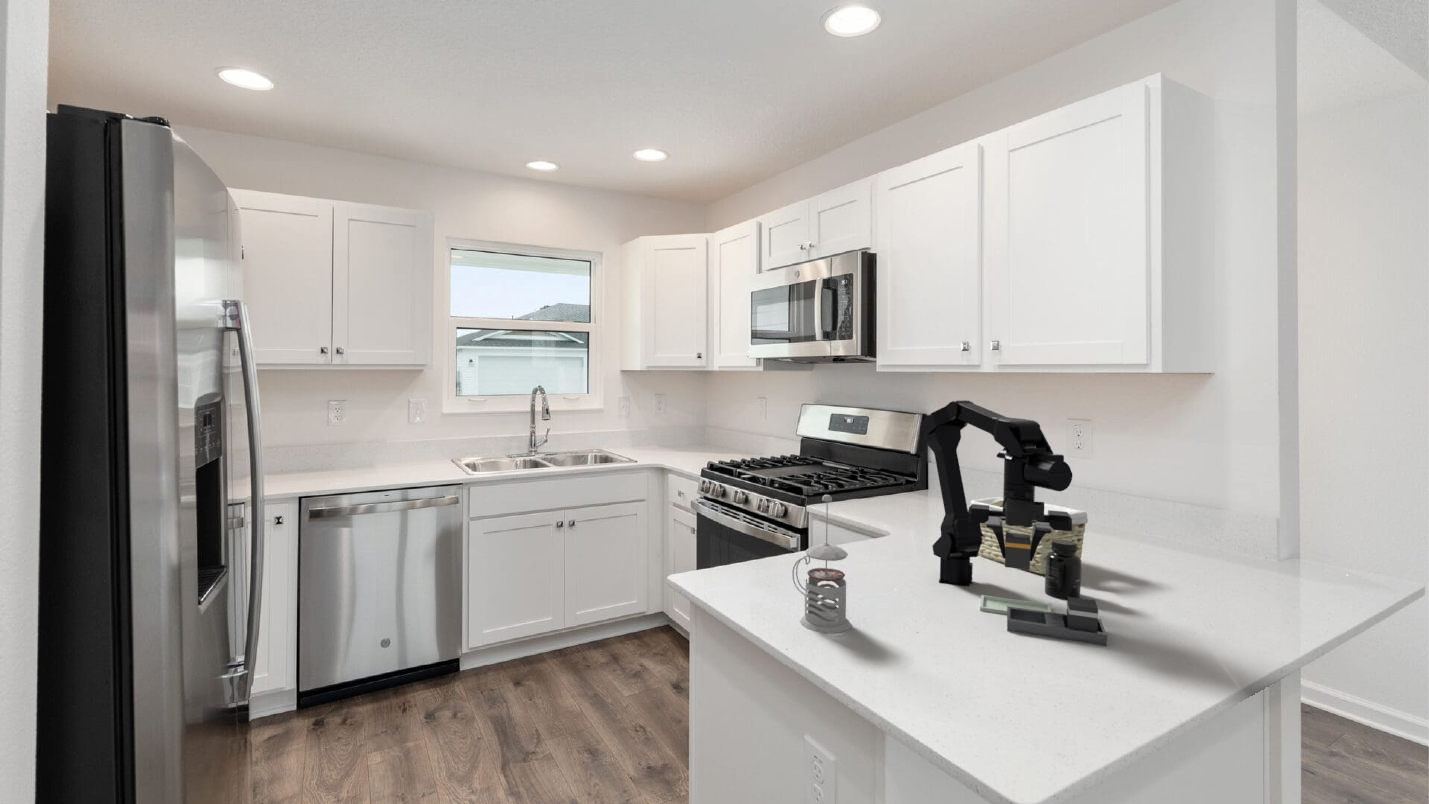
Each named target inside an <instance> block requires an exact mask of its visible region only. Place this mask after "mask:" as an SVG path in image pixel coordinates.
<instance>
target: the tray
mask: <svg viewBox="0 0 1429 804" xmlns="http://www.w3.org/2000/svg"><path fill="white" fill-rule="evenodd" d="M1007 606H1009V607H1016V608H1024V609H1031V610H1038V611H1045V612H1052V609H1051V604H1050V603H1043V602H1039V601H1038V602H1037V601H1029V600H1021V599H1016V598H1015V599H1014V598H1007V597H1000V596H993V595H987V594H986V595H984V594H981V596H980V603H979V611H980V612H986V613H992V614H999V615H1006V616H1007Z"/></svg>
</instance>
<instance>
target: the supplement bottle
mask: <svg viewBox="0 0 1429 804" xmlns="http://www.w3.org/2000/svg"><path fill="white" fill-rule="evenodd" d="M1051 549H1052V552H1050V553H1048V554H1047V556H1046V572H1045V574H1044V575H1045V576H1044V577H1045V578H1044V593H1045V594H1046V595H1047V596H1049V597H1052V598H1055V599H1058V600H1065V601H1068V597H1074V598H1081V590H1082V589H1081V585H1082V584H1081V583H1082V558H1081V559H1080V558H1079V557H1078V556H1077V555H1076V554H1075V553H1076V552H1077V544H1076V543H1075V542H1072V541H1067V540H1052V546H1051Z"/></svg>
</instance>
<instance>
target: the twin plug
mask: <svg viewBox="0 0 1429 804" xmlns="http://www.w3.org/2000/svg"><path fill="white" fill-rule="evenodd" d="M1066 614H1067V627H1069V628H1076V629H1083V630H1089V631H1096V632H1097V630H1098V619H1099V607H1098V604H1097V601H1096V600H1095V599H1087V598H1081V597H1080V598H1074V597H1068V600H1066Z"/></svg>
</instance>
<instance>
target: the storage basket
mask: <svg viewBox="0 0 1429 804" xmlns="http://www.w3.org/2000/svg"><path fill="white" fill-rule="evenodd" d="M1035 502H1037V501H1035ZM972 504H976V505H988V506H989V510H996V511H1003V496H997V497H995V496H994V497H987V498H980V499H979V498H978V499H972V500H971V501H970V504H969V507H970V506H971V505H972ZM1048 510H1050V511H1062V512H1067V513H1068V514H1069V515H1070V516H1071V518H1072V531H1061V530H1053V529H1052V528H1051V527H1050V528H1051V533H1046V534H1045V535H1044V536H1043V537H1042V539H1041V541H1040V542H1039V544H1038V547H1037V549H1036V552H1035V554H1034V557H1033V559H1032V561H1030V570H1029V571H1030V572H1033V573H1035V574H1036V573H1037V574H1040V575H1045V572H1046V556H1047V554H1048V553H1050V552H1052V549H1051V546H1052V540H1067V541H1072V542H1075V543H1076V544H1077V552H1076V553H1075V554H1076V555H1077V556H1078V557H1079V558H1080V559H1081V560H1082V553H1083V545H1084V535H1085V533H1086V524H1088V522H1089V521H1088V520H1089V519H1088V513H1087V511H1084V510H1078V509H1075V508H1069V507H1065V506H1061V505H1055V504H1050V503H1045V502H1044V515H1048ZM986 524H987V522H986V523H980V527H981V531H982V534H983V536H982V545H981V546H980V549H979V552H978V556H980V557H983V558H987V559H990V560H993V561H996V562H998V563H1003V564H1005V558H1003V556H1002V553H1001V550H1000V546H999V543H998V540H997V538H996V535H995V533H994V531H993V530H992V528H987V527H986ZM1002 524H1003V533H1004V542H1005V537H1006V533H1016V534H1027V535H1030V539H1032V533H1033V526H1034V524H1035V523H1033V526H1032V527H1024V526H1016V525H1014V526H1009V525H1007V524H1006V523H1005V520H1002Z"/></svg>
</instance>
